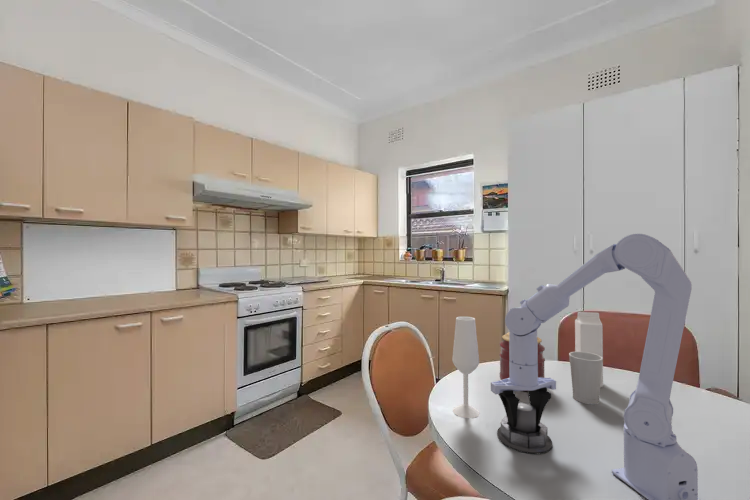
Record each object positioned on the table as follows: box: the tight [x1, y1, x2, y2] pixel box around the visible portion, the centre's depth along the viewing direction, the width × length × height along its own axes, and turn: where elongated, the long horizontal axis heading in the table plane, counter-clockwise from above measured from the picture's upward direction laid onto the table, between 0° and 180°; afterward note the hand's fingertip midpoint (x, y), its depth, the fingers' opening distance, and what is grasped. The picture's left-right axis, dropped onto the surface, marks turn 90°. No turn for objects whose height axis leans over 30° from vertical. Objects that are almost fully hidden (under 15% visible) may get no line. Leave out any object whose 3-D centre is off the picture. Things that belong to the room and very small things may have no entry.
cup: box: [568, 351, 604, 405], centre depth 93 cm, size 8×8×12 cm
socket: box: [496, 415, 553, 455], centre depth 74 cm, size 11×11×3 cm
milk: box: [574, 311, 604, 388], centre depth 105 cm, size 6×6×22 cm
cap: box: [511, 401, 536, 434], centre depth 74 cm, size 5×5×5 cm
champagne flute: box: [451, 316, 480, 419], centre depth 86 cm, size 7×7×24 cm
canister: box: [498, 331, 546, 381], centre depth 104 cm, size 13×13×18 cm
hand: (523, 423), depth 74 cm, fingers closed on cap, 5 cm apart
